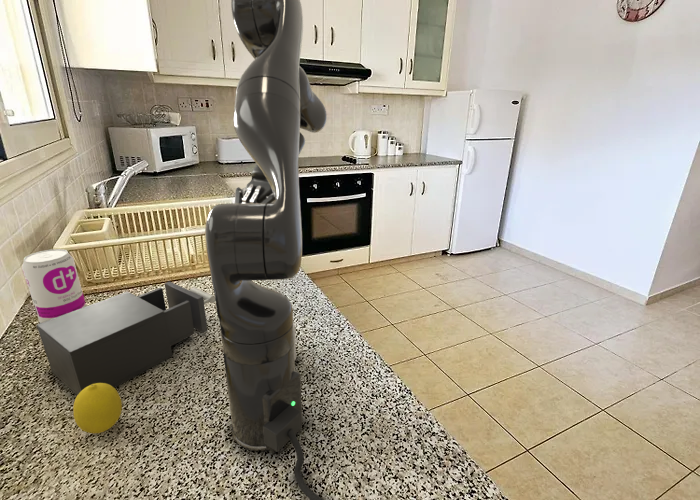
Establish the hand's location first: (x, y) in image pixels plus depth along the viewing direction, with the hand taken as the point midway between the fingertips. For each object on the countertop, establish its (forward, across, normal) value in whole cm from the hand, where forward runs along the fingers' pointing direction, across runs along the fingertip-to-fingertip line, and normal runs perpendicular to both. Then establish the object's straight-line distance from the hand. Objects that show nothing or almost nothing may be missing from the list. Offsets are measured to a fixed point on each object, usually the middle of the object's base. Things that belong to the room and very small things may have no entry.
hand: (238, 228), depth 84 cm
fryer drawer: (+25, 0, -1) cm, 25 cm away
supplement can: (+33, -23, -8) cm, 41 cm away
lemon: (+40, +14, -14) cm, 44 cm away
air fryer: (+34, 0, -8) cm, 35 cm away
